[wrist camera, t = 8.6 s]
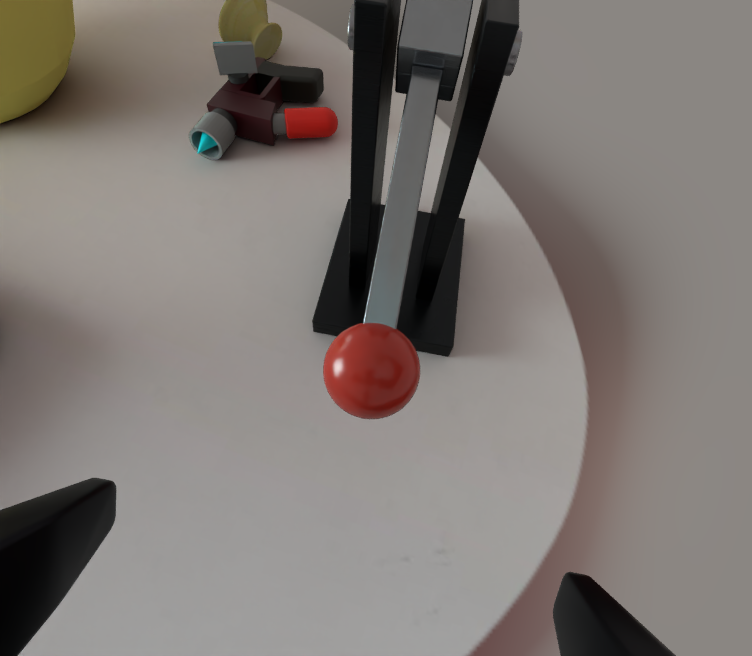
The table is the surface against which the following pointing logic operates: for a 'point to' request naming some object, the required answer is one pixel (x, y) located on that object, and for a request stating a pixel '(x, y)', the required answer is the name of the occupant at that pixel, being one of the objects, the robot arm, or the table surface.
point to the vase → (32, 52)
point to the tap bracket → (442, 226)
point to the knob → (250, 26)
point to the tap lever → (399, 218)
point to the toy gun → (260, 102)
